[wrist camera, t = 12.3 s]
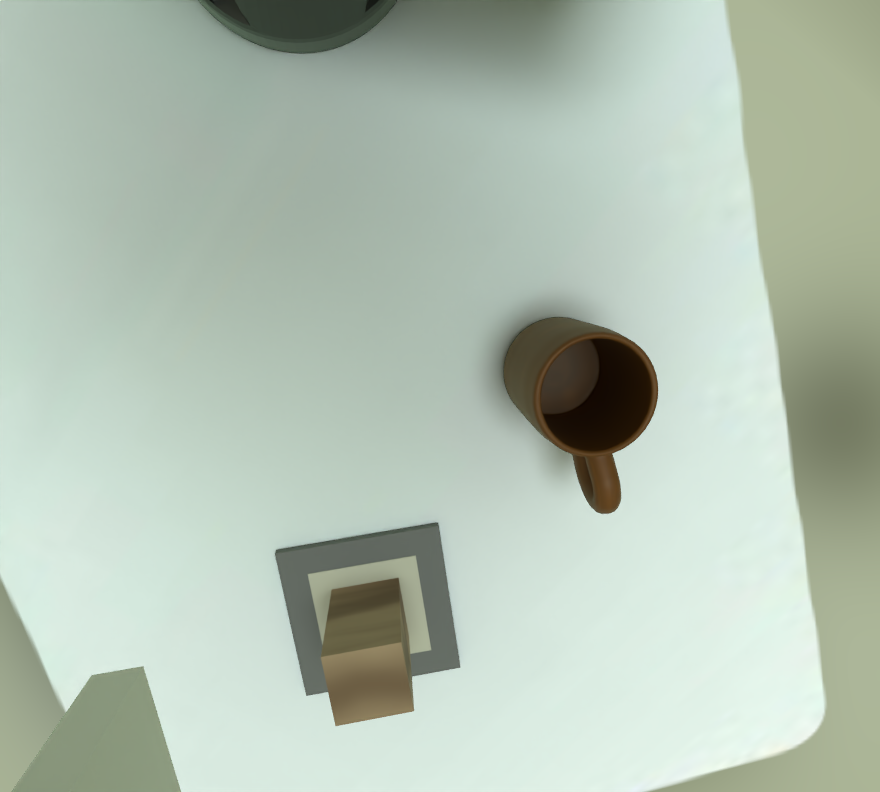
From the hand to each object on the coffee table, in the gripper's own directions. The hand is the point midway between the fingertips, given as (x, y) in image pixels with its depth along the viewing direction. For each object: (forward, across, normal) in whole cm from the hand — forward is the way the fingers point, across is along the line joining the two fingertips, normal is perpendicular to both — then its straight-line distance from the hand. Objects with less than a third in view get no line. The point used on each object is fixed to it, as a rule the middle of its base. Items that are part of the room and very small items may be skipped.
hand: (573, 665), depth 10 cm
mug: (+34, +9, -5) cm, 36 cm away
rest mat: (+34, -7, -19) cm, 40 cm away
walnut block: (+33, -7, -20) cm, 39 cm away
